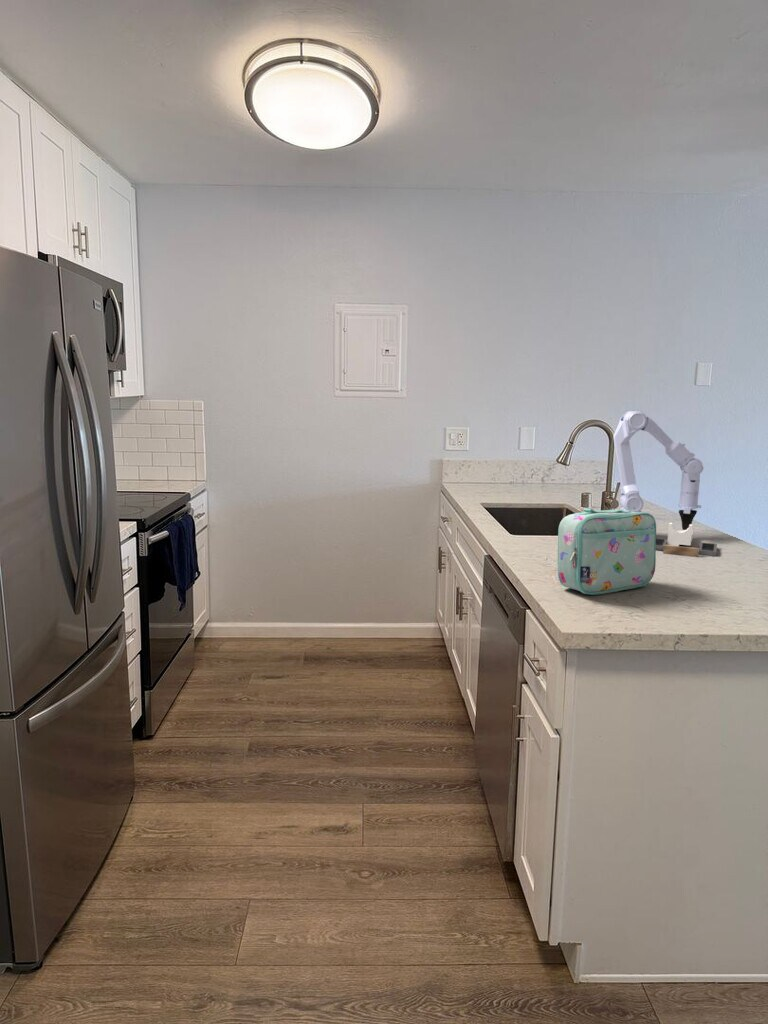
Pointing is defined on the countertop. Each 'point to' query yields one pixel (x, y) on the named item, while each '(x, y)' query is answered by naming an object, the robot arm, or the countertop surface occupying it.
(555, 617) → the countertop surface
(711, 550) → the trap pits
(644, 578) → the lunch box
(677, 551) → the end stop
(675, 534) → the bracket
